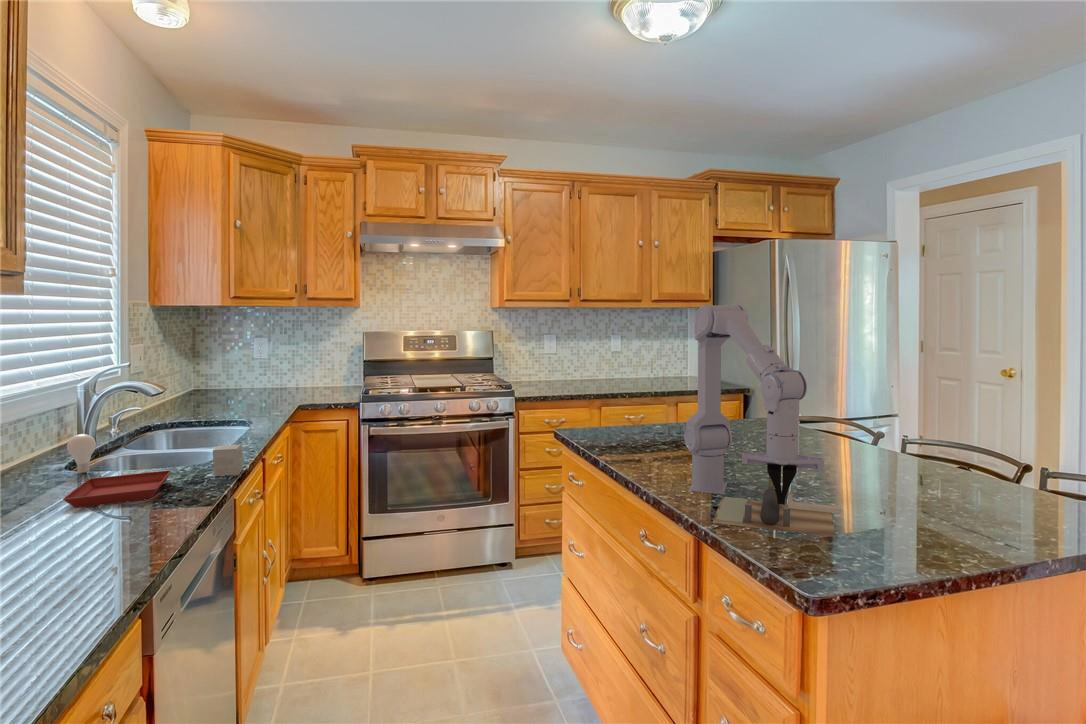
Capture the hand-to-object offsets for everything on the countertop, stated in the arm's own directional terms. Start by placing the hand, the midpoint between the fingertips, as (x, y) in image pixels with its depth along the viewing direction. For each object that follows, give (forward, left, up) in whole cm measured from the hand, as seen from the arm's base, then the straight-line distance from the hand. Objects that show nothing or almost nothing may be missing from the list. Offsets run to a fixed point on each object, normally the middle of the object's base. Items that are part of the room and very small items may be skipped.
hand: (781, 502), depth 116 cm
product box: (+7, -140, -5) cm, 140 cm away
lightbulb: (+22, -178, -5) cm, 180 cm away
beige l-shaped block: (0, +6, -1) cm, 6 cm away
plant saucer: (+31, -148, -6) cm, 151 cm away
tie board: (-6, -2, -5) cm, 8 cm away
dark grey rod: (-6, -3, -4) cm, 8 cm away
